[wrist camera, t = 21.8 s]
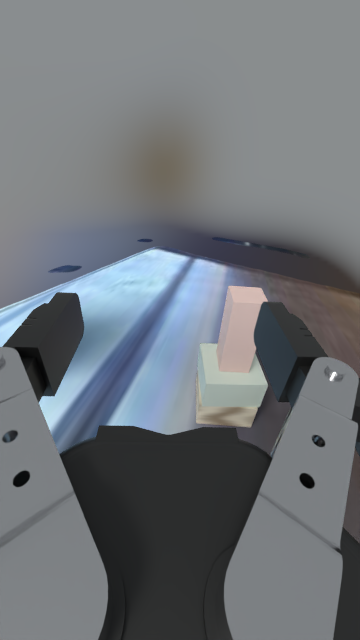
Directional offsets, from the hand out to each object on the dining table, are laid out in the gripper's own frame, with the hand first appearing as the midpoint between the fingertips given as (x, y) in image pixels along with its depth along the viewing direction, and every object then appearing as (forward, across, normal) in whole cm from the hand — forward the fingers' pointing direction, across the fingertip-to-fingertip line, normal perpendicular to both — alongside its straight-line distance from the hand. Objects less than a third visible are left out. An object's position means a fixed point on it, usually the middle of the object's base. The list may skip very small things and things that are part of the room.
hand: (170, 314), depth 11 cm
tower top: (+20, -10, +26) cm, 34 cm away
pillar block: (+20, -10, +22) cm, 31 cm away
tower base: (+20, -10, +32) cm, 38 cm away
